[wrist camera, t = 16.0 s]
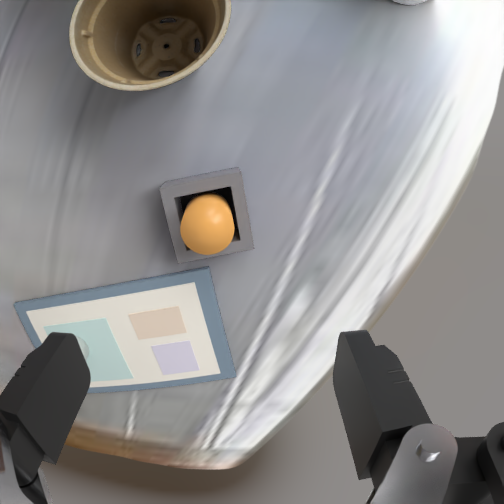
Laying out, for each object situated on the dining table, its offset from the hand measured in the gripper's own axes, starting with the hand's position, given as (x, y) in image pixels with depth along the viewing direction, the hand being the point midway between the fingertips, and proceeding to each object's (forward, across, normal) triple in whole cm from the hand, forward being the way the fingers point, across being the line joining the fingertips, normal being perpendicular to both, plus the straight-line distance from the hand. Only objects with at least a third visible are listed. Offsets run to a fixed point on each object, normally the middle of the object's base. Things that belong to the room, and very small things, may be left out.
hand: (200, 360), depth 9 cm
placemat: (+17, +12, +14) cm, 25 cm away
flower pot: (+19, +4, -13) cm, 24 cm away
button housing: (+19, +2, +1) cm, 19 cm away
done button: (+17, +2, +1) cm, 17 cm away
